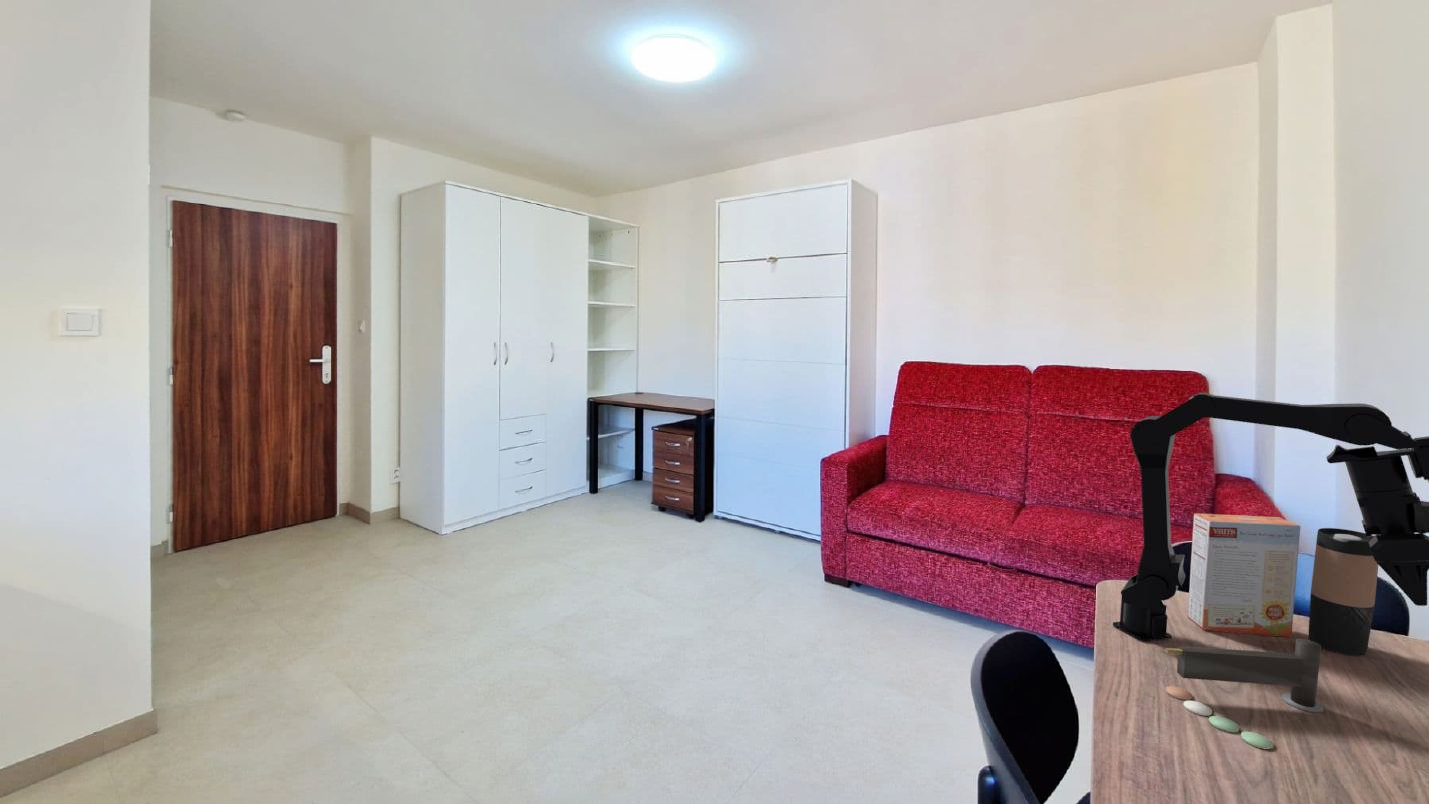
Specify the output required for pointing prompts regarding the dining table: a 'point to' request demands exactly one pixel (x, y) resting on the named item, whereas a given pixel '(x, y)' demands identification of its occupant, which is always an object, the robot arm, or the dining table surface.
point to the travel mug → (1342, 591)
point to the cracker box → (1243, 574)
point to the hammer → (1256, 667)
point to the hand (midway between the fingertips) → (1416, 595)
